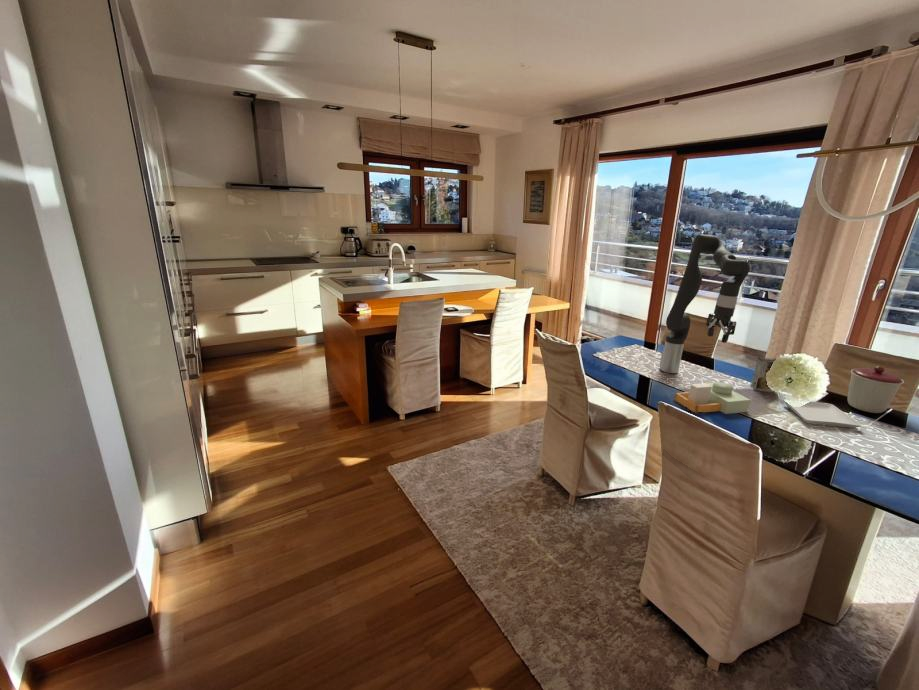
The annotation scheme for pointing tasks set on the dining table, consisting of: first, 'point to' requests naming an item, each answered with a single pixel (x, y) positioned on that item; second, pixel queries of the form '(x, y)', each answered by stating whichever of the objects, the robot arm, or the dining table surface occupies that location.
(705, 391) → the white block
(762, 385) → the coffee box
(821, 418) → the salad plate
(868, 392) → the canister
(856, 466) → the dining table surface
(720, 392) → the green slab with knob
